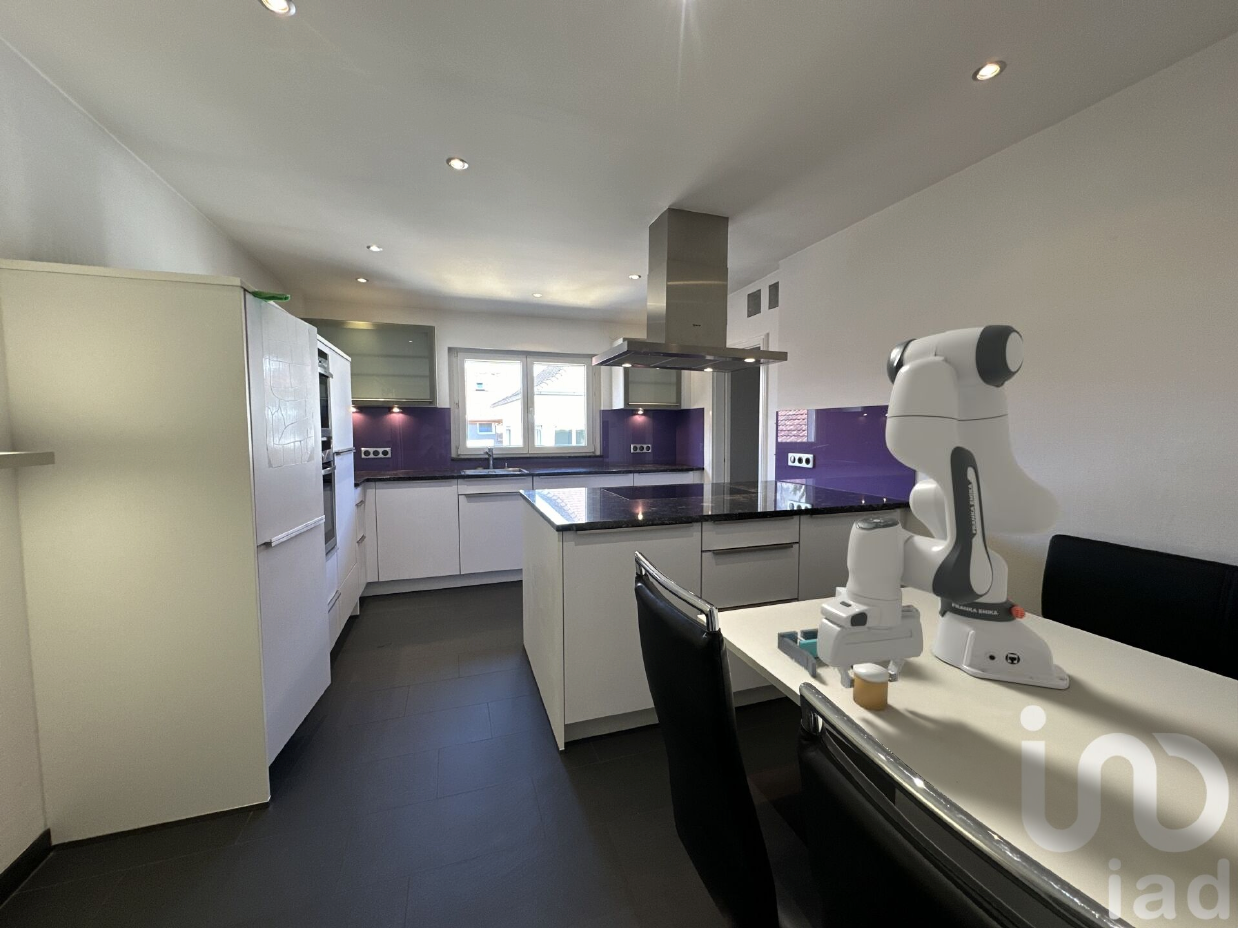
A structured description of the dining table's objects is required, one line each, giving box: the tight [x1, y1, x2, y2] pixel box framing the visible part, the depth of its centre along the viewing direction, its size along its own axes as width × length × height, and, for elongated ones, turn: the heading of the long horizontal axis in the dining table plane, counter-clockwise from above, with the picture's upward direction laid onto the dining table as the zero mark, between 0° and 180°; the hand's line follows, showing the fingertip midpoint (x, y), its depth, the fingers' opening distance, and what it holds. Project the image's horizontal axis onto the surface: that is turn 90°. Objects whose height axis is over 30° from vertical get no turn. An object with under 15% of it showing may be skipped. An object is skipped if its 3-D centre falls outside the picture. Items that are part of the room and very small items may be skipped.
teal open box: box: [798, 635, 819, 658], centre depth 104 cm, size 8×7×4 cm
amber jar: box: [852, 663, 889, 712], centre depth 84 cm, size 6×6×6 cm
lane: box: [777, 627, 854, 678], centre depth 101 cm, size 13×12×4 cm
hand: (869, 683), depth 84 cm, fingers open, 8 cm apart
